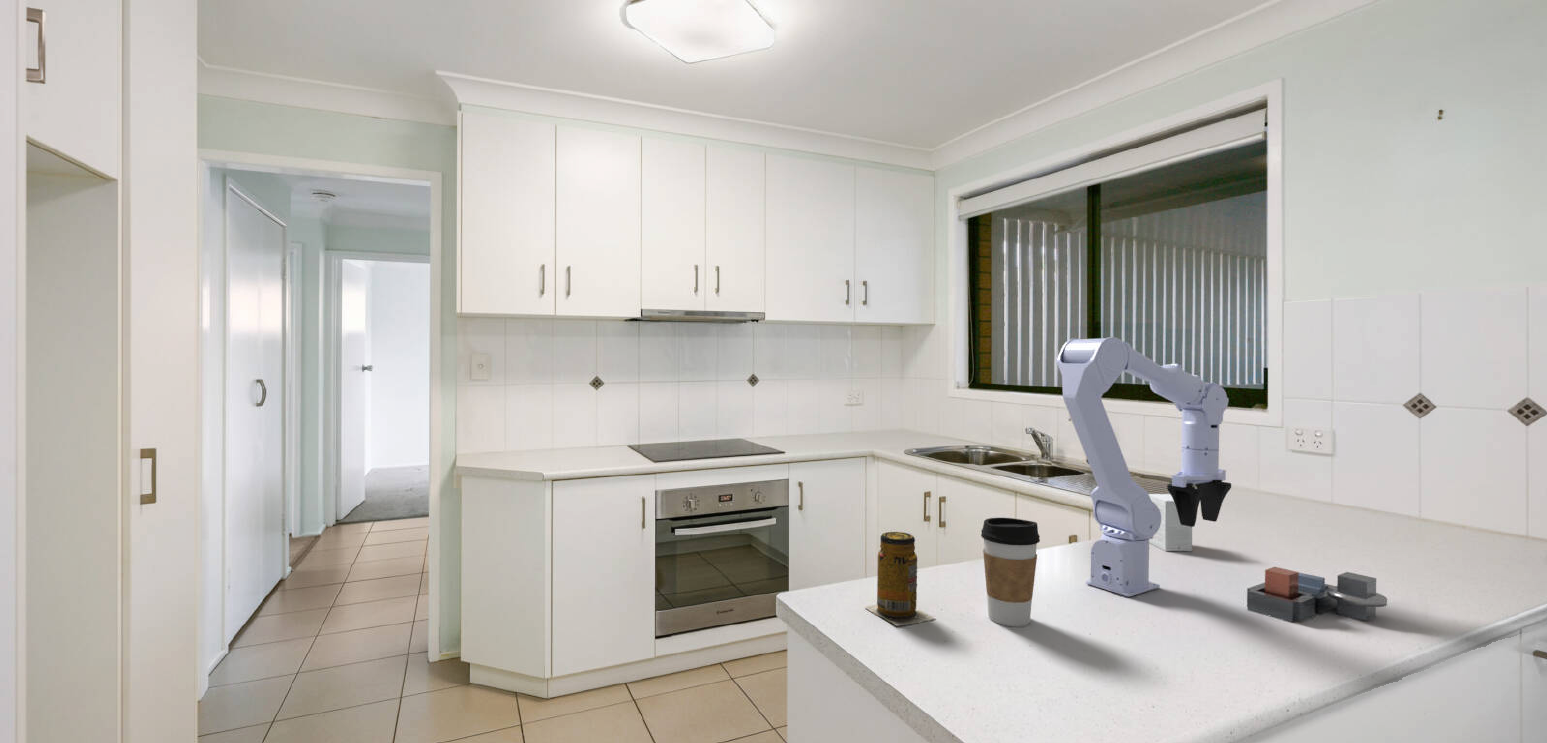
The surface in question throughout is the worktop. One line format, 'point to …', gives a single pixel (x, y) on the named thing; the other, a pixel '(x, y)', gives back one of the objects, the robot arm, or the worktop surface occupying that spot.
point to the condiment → (897, 580)
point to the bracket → (1311, 583)
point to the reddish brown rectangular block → (1281, 583)
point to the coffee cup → (1010, 568)
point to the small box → (1170, 526)
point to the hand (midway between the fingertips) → (1198, 523)
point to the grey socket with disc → (1322, 600)
